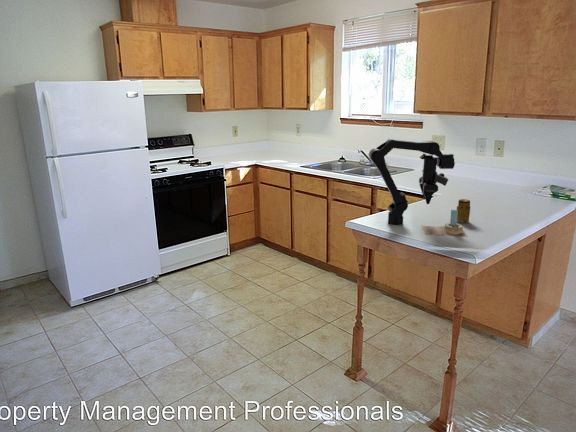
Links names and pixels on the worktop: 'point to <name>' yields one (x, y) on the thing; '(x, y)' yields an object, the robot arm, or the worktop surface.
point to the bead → (453, 229)
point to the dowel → (453, 218)
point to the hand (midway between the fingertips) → (426, 201)
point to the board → (439, 231)
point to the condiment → (463, 211)
